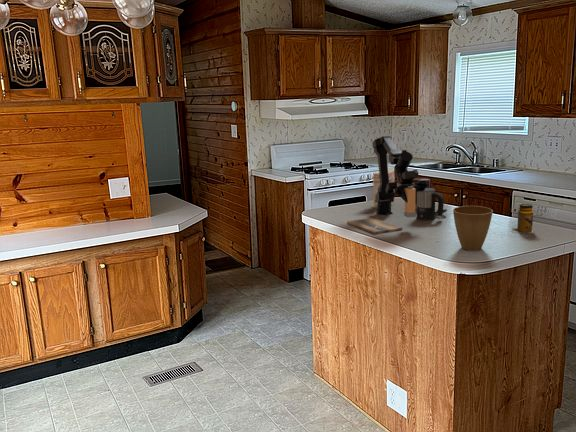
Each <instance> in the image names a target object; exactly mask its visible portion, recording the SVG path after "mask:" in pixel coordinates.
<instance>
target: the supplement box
mask: <svg viewBox="0 0 576 432" xmlns="http://www.w3.org/2000/svg"><path fill="white" fill-rule="evenodd" d="M413 180H414V181H413V182H412V184H413V183H415V184H416V183H417V181H418V180H426V181H427V183H428V185H427V186H426V188H431V178H414V179H413ZM415 209H417V194H416V202H415Z"/></svg>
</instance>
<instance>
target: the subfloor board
mask: <svg viewBox="0 0 576 432" xmlns="http://www.w3.org/2000/svg"><path fill="white" fill-rule="evenodd" d="M346 224H348V225H350V226H353V227H354V228H357V229H360V230H363V231H366V232H368V233H371V234H373V235H378V234H379V235H380V234H384V233H385V234H386V233H392V232H397V230H398V231H403V227H402V226H398V225H395V224H393V223H389V222H386V221H385V220H382V219H379V218H375V217H366V218H363V219H353V220H348V221H347V222H346Z"/></svg>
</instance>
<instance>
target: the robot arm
mask: <svg viewBox="0 0 576 432" xmlns="http://www.w3.org/2000/svg"><path fill="white" fill-rule="evenodd" d="M372 148H373V152H374V154H375V155H376V156H377V163H378V164H377V165H378V171H379V177H380V185H379V187H378V192H377V194H376V197H375V201H376V202H377V203H378V205H377V208H376V211H375V212H376V213H377V214H379V215H382V216H384V215H385V216H386V215H391V214H394V212H392V205H391V202H394V203H395V195H397V196H398V197H400V198H401V199H402V200H403V201H404V203H405V202H406V203H407V202H408V200H407V197H406V194H405V188H408V186H413V188H415V202H416V194H417V192H418V191H424V190H425V188H426V186H427V185H428V183H427V181H426V180H418V181H417V183H416V184H415V183H413V181H414V179H416V178H417V177H418V176H419V171H418V169H412V170H408V168H409V167H410V165H411V163H412V160H413V154H412V153H410V152H409V151H407V149H403V150H402V149H399V148H398V147H397V145H396V144H395V143H394V141H393V138H392V136H390V135H382V136H380V137H379V138H375V139H374V140H373V141H372ZM387 155H388V156H387ZM388 162H389V163H390V165H392V166H393V165H394V167H393V170H394V174H395V175H396V181H394V182H389V176H388V170H389V166H388ZM397 182H398V183H397Z"/></svg>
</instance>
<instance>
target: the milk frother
mask: <svg viewBox="0 0 576 432" xmlns="http://www.w3.org/2000/svg"><path fill="white" fill-rule="evenodd" d="M436 198H437V210H436ZM444 202H445V198H444V196H443V194H442V193H440V192H436V188H432V187H430V188H425V190H424V191H418V192H417V208H416V217H415V218H416V220H420V221H421V220H422V221H429V220H430V221H431V220H435V219H436V216H441V215H443V214H444V213H446V212H448V209H446V208H445V209H444V204H445V203H444Z"/></svg>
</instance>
